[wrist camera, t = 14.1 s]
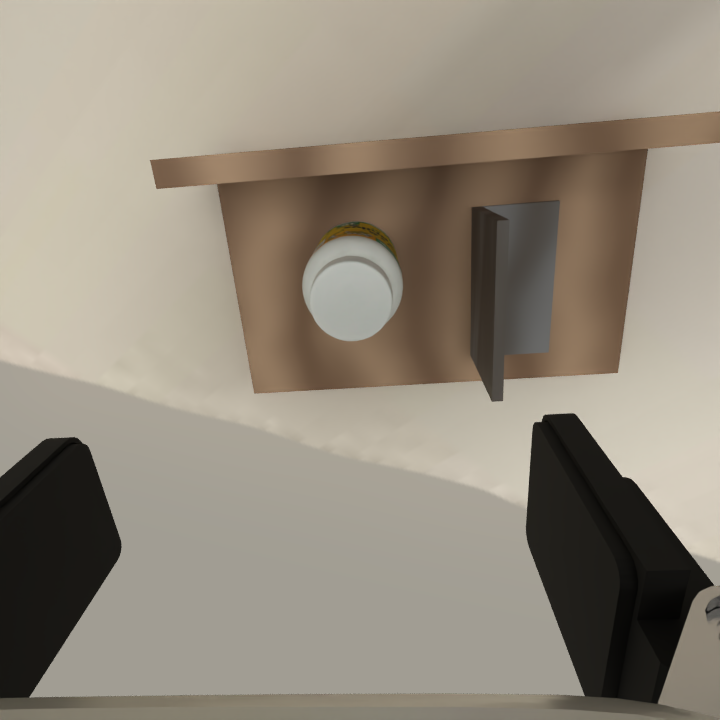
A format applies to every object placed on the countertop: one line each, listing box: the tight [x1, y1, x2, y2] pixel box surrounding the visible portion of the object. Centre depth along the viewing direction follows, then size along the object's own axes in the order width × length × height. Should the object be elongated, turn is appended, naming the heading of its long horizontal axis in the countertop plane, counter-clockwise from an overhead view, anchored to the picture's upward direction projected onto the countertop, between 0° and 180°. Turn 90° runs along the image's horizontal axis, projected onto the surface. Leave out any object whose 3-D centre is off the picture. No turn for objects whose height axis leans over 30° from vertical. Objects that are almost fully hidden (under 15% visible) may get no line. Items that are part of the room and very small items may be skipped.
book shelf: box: [150, 112, 720, 402], centre depth 29 cm, size 26×16×10 cm, turn 94°
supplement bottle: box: [302, 221, 403, 341], centre depth 28 cm, size 5×5×10 cm
